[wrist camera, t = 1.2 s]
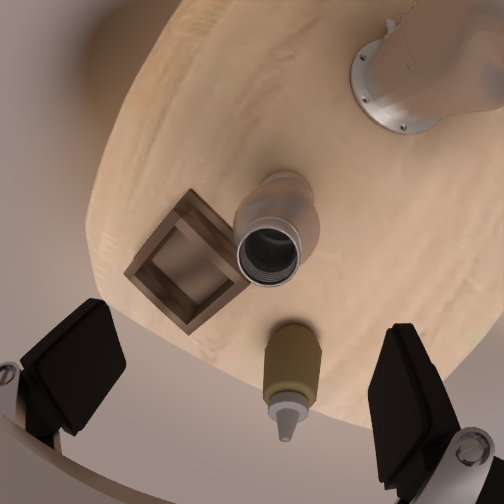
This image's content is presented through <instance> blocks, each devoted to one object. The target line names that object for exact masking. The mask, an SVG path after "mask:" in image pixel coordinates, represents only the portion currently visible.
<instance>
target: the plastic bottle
mask: <svg viewBox="0 0 504 504" xmlns="http://www.w3.org/2000/svg"><path fill="white" fill-rule="evenodd" d="M313 203H314V198H313V192H312V189H311V187H310V185H309V184H308V182H307V181H306V180H305V179H304V178H303V177H302V176H300V175H298V174H297V173H294V172H290V171H279V172H276V173H273V174H272V175H270V176H268V177H267V178H266V179H265V180H264V181H263V182H262V184H261V185H260V187H259V188H258V189H256V190H254V191H253V192H251V193H250V194H249V195H248V196H246V197H245V198H244V200H243V201H242V202H241V204H240V205H239V207H238V209H237V211H236V214H235V218H234V225H233V231H234V238H235V242H236V245H237V263H238V266H239V269H240V271H241V272H242V274H243V275H244V276H245V278H246V279H248V280H249V281H250V282H252V283H254V284H255V285H258V286H261V287H277V286H280V285H282V284H285V283H286V282H287V281H289V280H290V279H291V278H292V277H293V276H294V274H295V273H296V271H297V269H298V267H299V266H300V265H301V264H303V263H304V262H305V261H306V260H307V259H308V258H309V257H310V256H311V254H312V253H313V251H314V250H315V248H316V246H317V243H318V240H319V235H320V221H319V217H318V213H317V211H316V209H315V207H314V205H313Z"/></svg>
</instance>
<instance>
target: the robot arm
mask: <svg viewBox="0 0 504 504" xmlns="http://www.w3.org/2000/svg"><path fill="white" fill-rule="evenodd" d="M385 25H386V30H387V35H385V36H384V37H383V38H382V39H378V40H375V41H372V42H370V43H368V44H367V45H365V46H364V47H363V48H362V49H361V50H360V51H359V52H358V54H357V55H356V57H355V59H354V61H353V64H352V67H351V73H350V76H351V86H352V90H353V93H354V96H355V98H356V100H357V102H358V104H359V105H360V107H361V108H362V110H363V111H364V112H365V113H366V114H367V116H368V117H369V118H370V119H372V120H373V121H374V122H375V123H376V124H378V125H379V126H381V127H383V128H384V129H386V130H389V131H392V132H394V133H399V134H418V133H421V132H424V131H427V130H428V129H430V128H432V127H433V126H434V125H435V124H436V123H437V122H438V121H439V119H440V118H441V117H442V116H449V115H456V114H464V113H473V112H482V111H490V110H495V109H498V108H501V107H503V106H504V0H419V1H418V2H417V3H416V4H415V6H414V7H413V8H412V9H411V10H410V11H409V13H408V14H405V15H402V16H401V22H400V23H399V24H398V26H396V21H395V20H393V19H386V20H385ZM360 58H363V60H364V61H362V60H361V59H360ZM362 99H365V100H366V102H365V103H364V102H363V101H362ZM400 126H402V127H403V129H402V130H401V129H400ZM20 362H21V364H22V366H23V368H24V369H23V370H22V371H21V369H20V367H19V366H18V364H16V363H15V362H5V363H2V364H0V504H176V503H172V502H169V501H166V500H163V499H160V498H156V497H153V496H150V495H148V494H145V493H142V492H139V491H136V490H134V489H132V488H129V487H126V486H124V485H122V484H119V483H117V482H115V481H112V480H110V479H108V478H106V477H104V476H101V475H99V474H97V473H95V472H93V471H91V470H89V469H87V468H85V467H83V466H81V465H80V464H78V463H76V462H74V461H72V460H70V459H69V458H67V457H65V456H63V455H62V451H61V443H60V434H59V429H60V428H61V427H62V429H63V430H64V431H65V432H67V433H69V434H71V435H72V436H74V437H75V436H76V434H77V432H78V431H81V430H82V429H83V428H84V427H85V425H86V424H87V422H88V421H89V420H90V418H91V417H92V415H93V414H94V412H95V411H96V409H97V408H98V407H99V405H100V404H101V402H102V401H103V400H104V398H105V397H106V395H107V394H108V392H109V391H110V390H111V388H112V387H113V385H114V384H115V383H116V381H117V380H118V379H119V377H120V376H121V374H122V373H123V372H124V370H125V368H126V360H125V357H124V354H123V351H122V348H121V345H120V342H119V339H118V336H117V332H116V329H115V326H114V323H113V319H112V316H111V312H110V309H109V306H108V305H107V304H106V302H105V301H103V300H99V299H94V298H89V299H88V300H86V301H85V302H84V303H83V304H82V305H80V306H79V307H78V308H77V309H76V310H74V312H72V313H71V314H70V315H69V316H67V317H66V318H65V319H64V320H63V321H62V322H61V323H59V324H58V325H57V326H56V327H55V328H54V329H53V330H52V331H50V332H49V333H48V334H47V335H46V336H45V337H44V338H43V339H42V340H41V341H39V343H37V344H36V345H35V346H34V347H33V348H32V349H31V350H30V351H29V352H27V353H26V354H25V355H24V356H23V357H22V358H21V359H20ZM368 402H369V408H370V414H371V421H372V428H373V434H374V442H375V450H376V458H377V468H378V477H379V481H380V482H381V483H383V482H384V487H385V490H389V489H395V488H396V489H397V496H398V497H399V498H398V499H397V500H396V502H395V503H394V504H504V460H501V459H500V458H498V457H496V456H494V452H495V447H494V443H493V440H492V438H491V437H490V436H489V434H488V433H487V432H485V431H484V430H482V429H480V428H476V427H467V428H464V429H461V428H460V425H459V422H458V420H457V417H456V414H455V412H454V409H453V407H452V404H451V402H450V399H449V397H448V394H447V392H446V390H445V387H444V385H443V383H442V380H441V378H440V376H439V373H438V371H437V369H436V367H435V366H434V364H432V363H431V361H430V358H429V356H428V354H427V352H426V350H425V348H424V346H423V344H422V342H421V340H420V338H419V336H418V334H417V332H416V330H415V328H414V326H413V324H411V323H395V324H394V325H393V327H392V328H389V329H388V330H387V332H386V335H385V339H384V342H383V346H382V349H381V352H380V355H379V359H378V362H377V365H376V368H375V371H374V374H373V377H372V380H371V383H370V385H369V388H368Z"/></svg>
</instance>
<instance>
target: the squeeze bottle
mask: <svg viewBox="0 0 504 504" xmlns="http://www.w3.org/2000/svg"><path fill="white" fill-rule="evenodd" d="M321 356H322V350H321V348H320V345H319V343H318V341H317V340H316V338H315V337H314V335H313V333H312V332H311V331H310V330H309V329H308V328H307V327H304V326H302V325H298V324H290V325H287V326H284V327H282V328H281V329H280V330H279V331H278V332H277V333H276V334H275V335H274V336H273V338H272V339H271V340H270V341H269V343H268V345H267V347H266V348H265V360H264V380H263V399H264V401H265V402H266V404H267V405H268V415H269V417H270V418H271V419H272V420H274V421H276V422H277V425H278V431H279V438H280V441H282V442H288V441H290V440H291V438H292V435H293V432H294V430H295V427H296V424H297V423H299V422H301V421H303V420H304V419H306V418H307V417H308V412H309V407H311V406H312V405H313V404H314V403H315V401H316V397H317V389H318V382H319V373H320V365H321Z"/></svg>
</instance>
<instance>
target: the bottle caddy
mask: <svg viewBox="0 0 504 504" xmlns="http://www.w3.org/2000/svg"><path fill="white" fill-rule="evenodd" d="M123 274H124V275H125V276H126V277H127V278H128V279H129V280H130V281H131V282H132V283H133V284H134V285H135V286H136V287H137V288H138V289H139V290H140V291H141V292H142V293H143V294H144V295H145V296H146V297H147V298H148V299H149V300H150V301H151V302H152V303H153V304H154V305H155V306H156V307H157V308H158V309H160V310H161V311H162V312H163V313H164V314H165V315H166V316H167V317H168V318H169V319H170V320H172V321H173V322H174V323H175V324H176V325H177V326H178V327H179V328H180V329H182V330H183V331H184V332H185V333H186V334H187V335H188V336H189V335H190V334H191V333H192V332H194V331H195V330H196V329H197V328H199V327H200V326H201V325H202V324H203V323H205V322H206V321H207V320H208V319H209V318H211V317H212V316H213V315H214V314H215V313H217V312H218V311H219V310H220V309H222V308H223V307H224V306H225V305H226V304H227V303H229V302H230V301H231V300H232V299H233V298H235V297H236V296H237V295H238V294H239V293H241V292H242V291H243V290H244V289H245V288H247V287H248V286H249V285H250V283H251V282H250V281H249V280H248V279H246V278H245V276H244V275H243V274H242V272H241V271H240V269H239V266H238V263H237V245H236V242H235V238H234V231H233V229H232V228H231V227H230V226H229V225H228V224H227V223H226V222H225V221H224V220H223V219H222V218H221V217H220V216H219V215H218V214H217V213H216V212H215V211H214V210H213V209H212V208H211V207H210V206H209V205H208V204H207V203H206V202H205V201H204V200H203V199H202V198H201V197H199V196H198V195H197V194H196V193H195V192H194V191H193V190H192V189H190V190H188V192H187V193H186V194H185V195H184V196H183V197H182V199H181V200H180V201H179V202H178V203H177V204H176V206H175V207H174V208H173V209H172V210H171V212H170V213H169V214H168V215H167V216H166V218H165V219H164V220H163V221H162V223H161V224H160V225H159V226H158V228H157V229H156V230H155V231H154V233H153V234H152V235H151V236H150V238H149V239H148V240H147V242H146V243H145V244H144V245H143V247H142V248H141V249H140V251H139V252H138V253H137V255H136V256H135V257H134V260H133V261H132V263H131V264H130V265H129V267H128V268H127V269H126V271H125V272H124V273H123Z"/></svg>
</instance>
